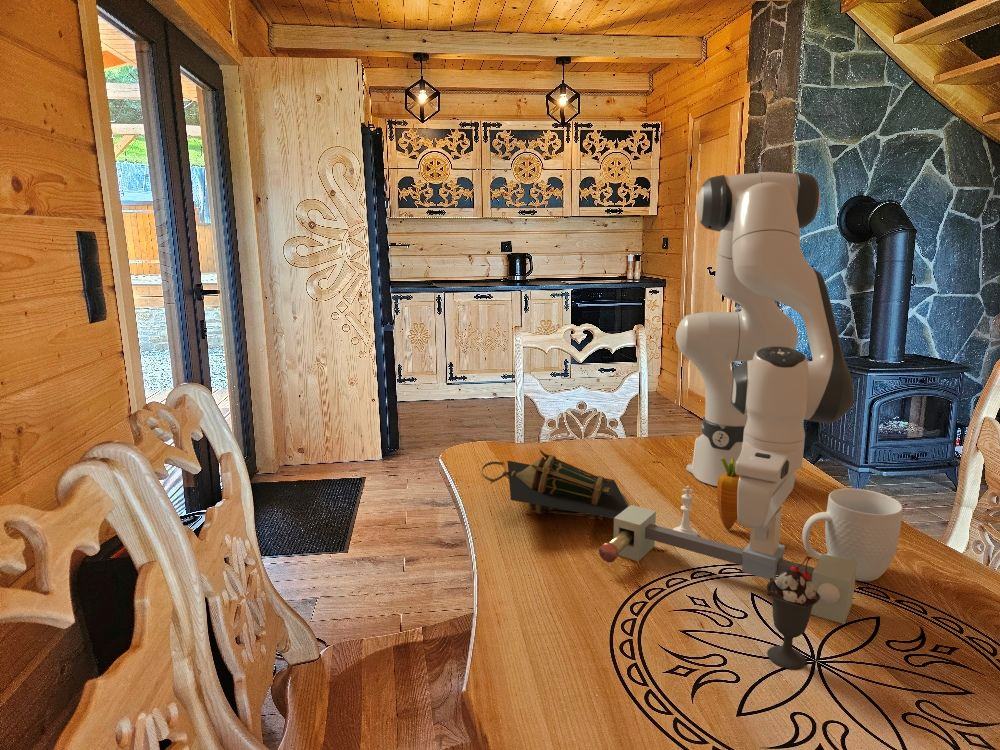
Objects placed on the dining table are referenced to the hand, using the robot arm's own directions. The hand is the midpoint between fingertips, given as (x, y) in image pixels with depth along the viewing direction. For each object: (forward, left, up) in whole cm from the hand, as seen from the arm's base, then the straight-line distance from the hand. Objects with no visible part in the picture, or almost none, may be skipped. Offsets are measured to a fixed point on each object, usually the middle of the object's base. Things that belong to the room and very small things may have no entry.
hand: (765, 533), depth 107 cm
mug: (-14, +11, -10) cm, 20 cm away
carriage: (0, 0, -6) cm, 6 cm away
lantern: (-5, -43, -10) cm, 44 cm away
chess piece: (-11, -17, -10) cm, 22 cm away
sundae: (+16, +8, -10) cm, 21 cm away
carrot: (-18, -11, -10) cm, 23 cm away
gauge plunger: (+6, -22, -7) cm, 24 cm away
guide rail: (0, -6, -10) cm, 11 cm away
